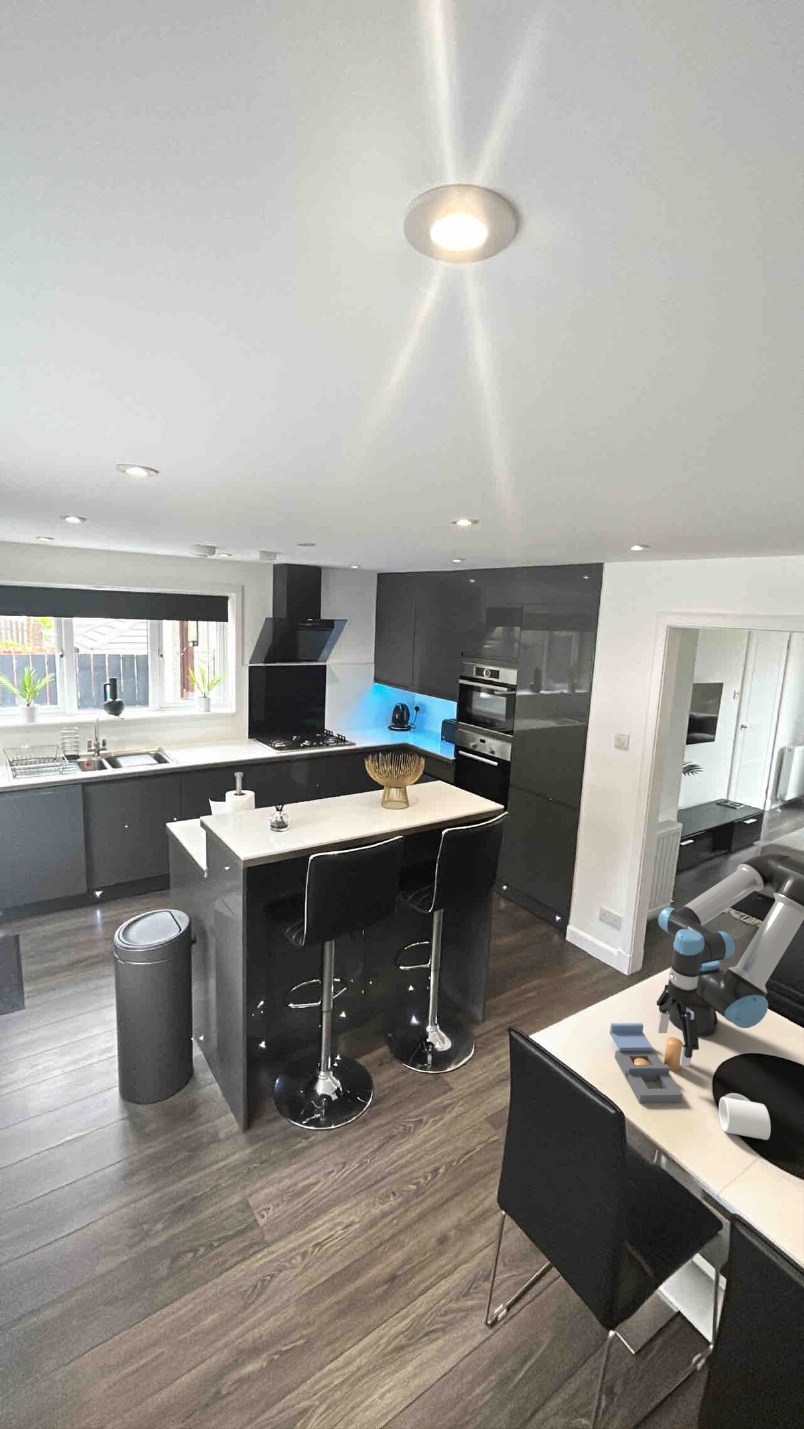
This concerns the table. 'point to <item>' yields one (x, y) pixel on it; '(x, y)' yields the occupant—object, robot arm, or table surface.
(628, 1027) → the lid
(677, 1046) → the pin
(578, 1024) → the table surface
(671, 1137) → the table surface
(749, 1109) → the mug
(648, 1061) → the housing
